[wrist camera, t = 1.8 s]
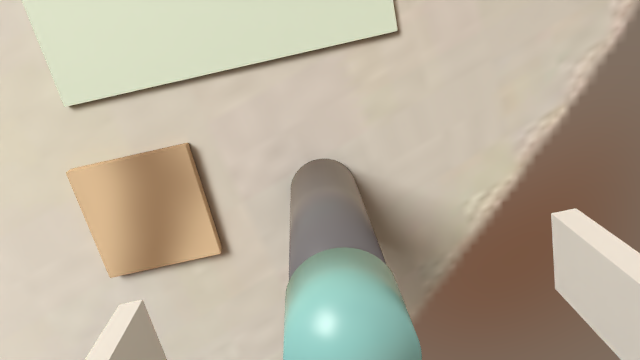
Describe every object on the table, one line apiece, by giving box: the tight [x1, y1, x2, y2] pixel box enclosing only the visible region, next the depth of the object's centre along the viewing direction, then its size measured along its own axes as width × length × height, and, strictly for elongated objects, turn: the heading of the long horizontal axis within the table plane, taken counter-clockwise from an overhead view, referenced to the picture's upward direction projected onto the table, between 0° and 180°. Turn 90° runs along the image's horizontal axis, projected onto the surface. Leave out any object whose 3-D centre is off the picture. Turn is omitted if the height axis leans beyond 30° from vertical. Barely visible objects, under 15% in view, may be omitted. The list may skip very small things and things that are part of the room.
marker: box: [283, 159, 422, 360], centre depth 18 cm, size 4×4×13 cm
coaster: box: [66, 143, 222, 278], centre depth 24 cm, size 6×6×1 cm
